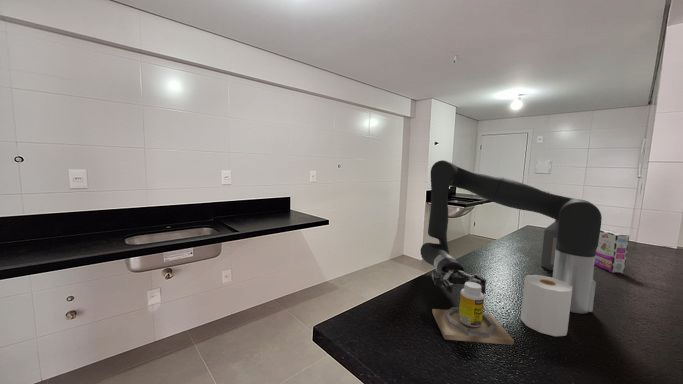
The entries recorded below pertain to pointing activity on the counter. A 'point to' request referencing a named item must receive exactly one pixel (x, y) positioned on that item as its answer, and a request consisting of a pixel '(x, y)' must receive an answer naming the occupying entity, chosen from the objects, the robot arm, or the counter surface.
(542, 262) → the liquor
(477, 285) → the supplement bottle
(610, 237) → the candy bar box
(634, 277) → the counter surface
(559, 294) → the toilet paper
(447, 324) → the seat plate
